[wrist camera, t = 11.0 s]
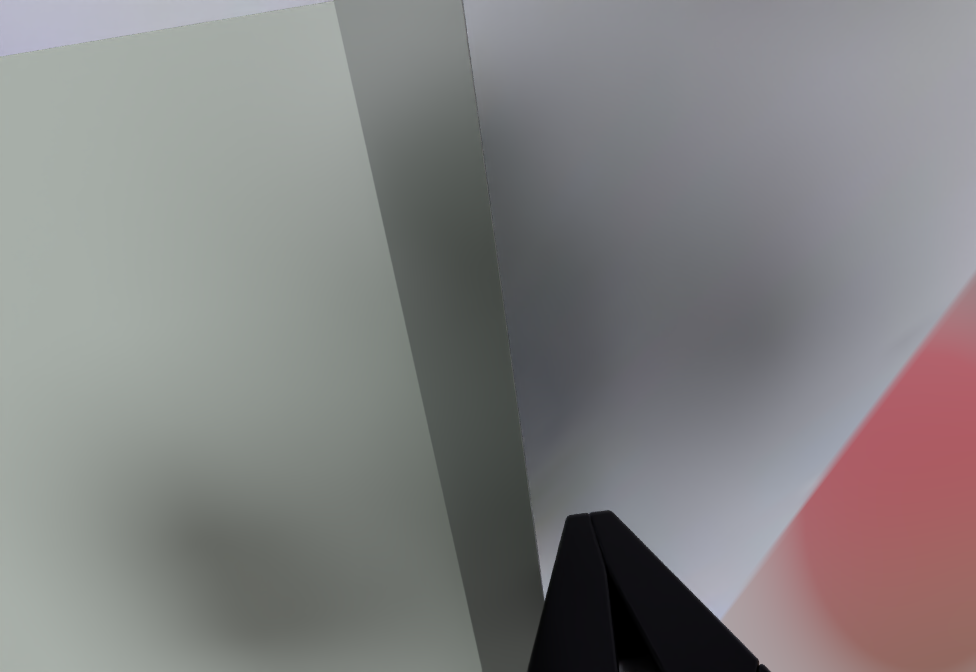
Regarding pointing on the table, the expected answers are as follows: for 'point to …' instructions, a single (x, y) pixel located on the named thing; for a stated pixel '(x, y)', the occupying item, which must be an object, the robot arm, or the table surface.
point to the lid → (258, 354)
